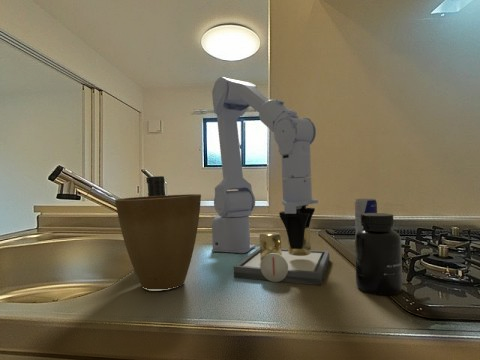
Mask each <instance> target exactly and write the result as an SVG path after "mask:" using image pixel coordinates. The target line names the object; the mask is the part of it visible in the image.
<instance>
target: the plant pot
mask: <svg viewBox="0 0 480 360" xmlns="http://www.w3.org/2000/svg"><path fill="white" fill-rule="evenodd" d="M201 200H202V195H201V194H198V193H197V194H196V193H193V194H191V193H190V194H169V195H168V194H165V196H148V195H147V196H135V197H124V198H117V199H116V198H115V199H114V201H115V206H116V207H115V208H116V213H117V217H118V222H119V226H120V230H121V235H122V237H123V238H122V239H123V242H124V244H125V248H126V252H127V253H128V257H129V259H130V262H131V265H132V268H133V270H134V273H135V274H136V277H137V279H138V281H139V284H140V285H141V288H142V287H144V288H147V289H168V288H173V287H177V286H180V285H181V286H183V285H184V284H185V280H186V278H187V275H188V271H189V268H190V265H191V261H192V258H193V253H194V249H195V244H196V241H197V236H198V235H197V233H198V228H199V222H200V221H199V220H200V213H201ZM183 283H184V284H183ZM182 284H183V285H182ZM181 286H180V287H181ZM177 288H178V287H177Z"/></svg>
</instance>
